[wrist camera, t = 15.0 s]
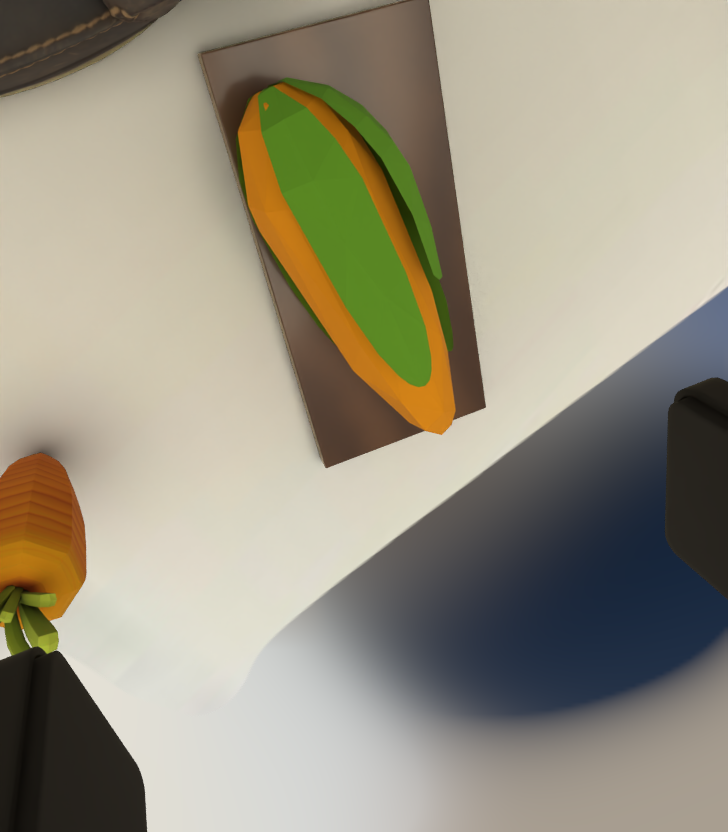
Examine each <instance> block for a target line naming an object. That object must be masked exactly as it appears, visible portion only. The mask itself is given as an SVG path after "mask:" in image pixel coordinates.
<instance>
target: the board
mask: <svg viewBox="0 0 728 832" xmlns="http://www.w3.org/2000/svg"><path fill="white" fill-rule="evenodd" d="M198 58H199V61H200V64H201V67H202V71H203V74H204V77H205V81H206V84H207V87H208V90H209V94H210V97H211V100H212V104H213V107H214V110H215V113H216V117H217V120H218V123H219V127H220V130H221V133H222V136H223V140H224V143H225V146H226V150H227V153H228V156H229V159H230V163H231V166H232V169H233V172H234V176H235V179H236V182H237V186H238V189H239V192H240V195H241V199H242V202H243V205H244V209H245V212H246V215H247V218H248V222H249V225H250V228H251V232H252V235H253V238H254V241H255V245H256V248H257V251H258V255H259V258H260V261H261V264H262V268H263V271H264V274H265V277H266V281H267V284H268V287H269V291H270V294H271V297H272V300H273V304H274V307H275V310H276V314H277V317H278V320H279V323H280V327H281V330H282V333H283V337H284V340H285V343H286V346H287V350H288V353H289V356H290V360H291V363H292V366H293V369H294V373H295V376H296V379H297V383H298V386H299V389H300V392H301V396H302V399H303V402H304V405H305V409H306V412H307V415H308V419H309V422H310V425H311V428H312V432H313V435H314V438H315V442H316V445H317V448H318V451H319V455H320V458H321V460H322V462H323V464H324V466H325V467H326V468H328V467H331V466H333V465H336V464H339V463H341V462H344V461H347V460H349V459H352V458H354V457H357V456H360V455H362V454H365V453H368V452H370V451H373V450H376V449H378V448H381V447H383V446H386V445H389V444H391V443H394V442H397V441H399V440H402V439H404V438H407V437H410V436H412V435H415V434H418V433H420V432H423V431H425V430H423V429H421V428H419V427H417V426H415V425H413V424H411V423H409V422H408V421H407V420H406V419H405V418H404V417H403V416H402V415H400V414H399V413H398V412H397V411H396V410H395V409H394V408H393V407H392V406H391V405H390V404H389V403H387V402H386V401H385V400H384V399H383V398H382V397H381V396H380V395H379V394H378V393H377V392H376V391H374V390H373V389H372V388H371V387H370V386H369V385H368V384H367V383H366V382H365V381H364V380H363V379H361V378H360V377H359V376H358V375H357V374H356V373H355V372H354V371H353V370H352V368H351V367H350V365H349V364H348V362H347V361H346V359H345V358H344V356H343V355H342V353H341V352H340V350H339V349H338V347H337V346H336V344H334V343H333V342H332V341H331V340H330V339H329V338H328V337H327V336H326V335H325V333H324V332H323V331H322V330H321V329H320V328H319V327H318V326H317V324H316V323H315V321H314V320H313V319H312V317H311V316H310V314H309V313H308V311H307V310H306V309H305V307H304V306H303V304H302V303H301V302H300V300H299V299H298V297H297V296H296V294H295V293H294V292H293V290H292V289H291V287H290V286H289V284H288V283H287V281H286V279H285V277H284V276H283V274H282V272H281V270H280V268H279V267H278V265H277V263H276V261H275V259H274V258H273V256H272V254H271V252H270V250H269V249H268V247H267V245H266V243H265V242H264V240H263V238H262V236H261V234H260V233H259V231H258V229H257V227H256V225H255V224H254V222H253V220H252V218H251V215H250V212H249V209H248V206H247V203H246V200H245V197H244V194H243V191H242V188H241V185H240V182H239V173H238V161H237V148H236V136H237V133H238V130H239V127H240V123H241V120H242V117H243V114H244V111H245V108H246V104H247V101H248V99H249V98H250V97H251V96H253V95H254V94H255V93H257V92H260V91H262V90H263V89H265V88H268V85H271V84H274V83H277V81H280V80H282V79H284V78H286V77H288V78H293V79H299V80H304V81H309V82H315V83H320V84H326V85H329V86H331V87H333V88H334V89H336V90H338V91H340V92H341V93H343V94H345V95H346V96H348V97H350V98H351V99H353V100H355V101H356V102H358V103H360V104H361V105H363V106H364V107H365V108H366V109H367V111H368V112H369V113H370V114H371V115H372V116H373V117H374V118H375V119H376V120H377V121H378V122H379V123H380V124H381V125H382V126H383V127H384V128H385V129H386V130H387V132H388V133H389V135H390V137H391V138H392V140H393V141H394V143H395V144H396V146H397V147H398V149H399V150H400V152H401V153H402V155H403V156H404V158H405V159H406V161H407V162H408V164H409V166H410V168H411V170H412V173H413V176H414V179H415V182H416V185H417V187H418V190H419V193H420V196H421V199H422V201H423V204H424V207H425V210H426V213H427V216H428V218H429V221H430V224H431V227H432V232H433V236H434V241H435V245H436V250H437V254H438V259H439V263H440V268H441V272H442V277H441V279H440V280H439V281H440V284H441V287H442V289H443V292H444V295H445V298H446V301H447V306H448V311H449V316H450V322H451V327H452V333H453V349H452V351H448V357H449V364H450V372H451V380H452V387H453V395H454V402H455V410H456V411H455V414H454V418H453V420H454V419H457V418H460V417H462V416H465V415H468V414H470V413H473V412H475V411H478V410H481V409H483V408H485V407H486V405H485V398H484V391H483V383H482V376H481V369H480V362H479V355H478V348H477V341H476V333H475V326H474V319H473V312H472V305H471V298H470V291H469V284H468V276H467V269H466V262H465V255H464V248H463V241H462V234H461V226H460V219H459V212H458V205H457V198H456V191H455V184H454V176H453V169H452V162H451V155H450V148H449V141H448V134H447V126H446V119H445V112H444V105H443V98H442V91H441V84H440V76H439V69H438V62H437V55H436V48H435V41H434V34H433V26H432V19H431V12H430V5H429V0H403V1H399V2H395V3H391V4H387V5H383V6H380V7H376V8H372V9H368V10H364V11H360V12H356V13H353V14H349V15H345V16H341V17H337V18H333V19H329V20H325V21H322V22H318V23H314V24H310V25H306V26H302V27H298V28H294V29H291V30H287V31H283V32H279V33H275V34H271V35H267V36H263V37H260V38H256V39H252V40H248V41H244V42H240V43H236V44H233V45H229V46H225V47H221V48H217V49H213V50H209V51H205V52H202V53H199V54H198ZM282 82H283V81H282Z"/></svg>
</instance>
